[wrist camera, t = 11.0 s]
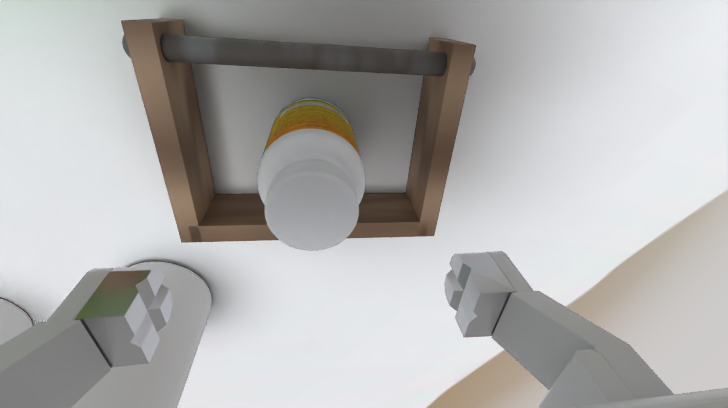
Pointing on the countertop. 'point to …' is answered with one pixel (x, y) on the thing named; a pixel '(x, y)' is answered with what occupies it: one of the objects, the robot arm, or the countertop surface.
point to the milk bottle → (160, 350)
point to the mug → (12, 321)
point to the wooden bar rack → (177, 88)
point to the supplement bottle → (311, 176)
